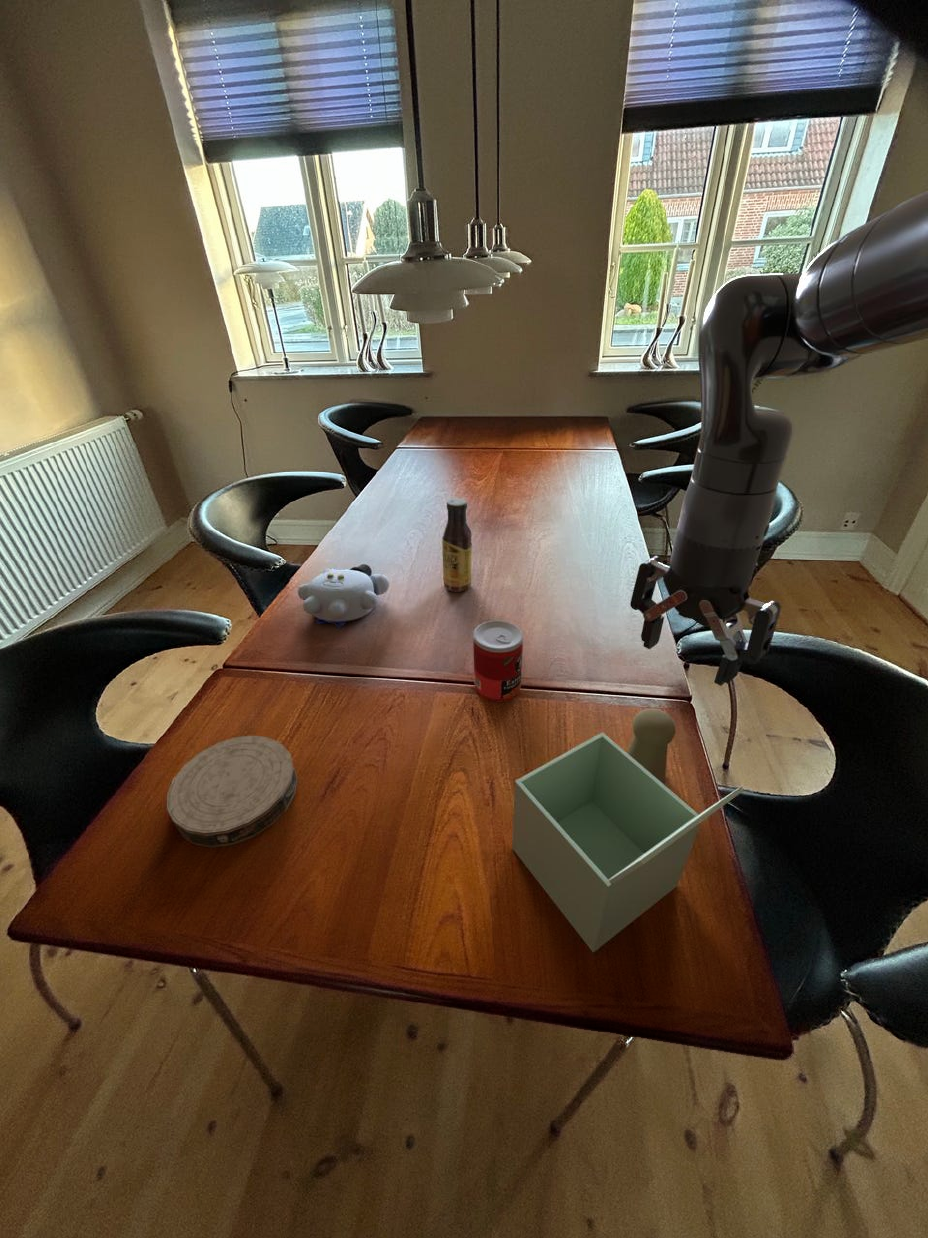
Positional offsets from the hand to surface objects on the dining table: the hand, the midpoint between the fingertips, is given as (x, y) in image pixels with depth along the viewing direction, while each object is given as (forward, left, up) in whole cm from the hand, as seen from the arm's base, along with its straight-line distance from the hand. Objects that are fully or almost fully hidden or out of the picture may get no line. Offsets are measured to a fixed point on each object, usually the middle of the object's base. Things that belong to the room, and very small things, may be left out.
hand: (684, 662), depth 59 cm
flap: (-12, +14, -5) cm, 19 cm away
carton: (-4, +14, -22) cm, 26 cm away
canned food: (+28, +5, -22) cm, 36 cm away
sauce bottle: (+60, -7, -22) cm, 65 cm away
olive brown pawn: (+2, -1, -22) cm, 22 cm away
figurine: (+67, +16, -22) cm, 73 cm away
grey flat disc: (+30, +47, -22) cm, 60 cm away
